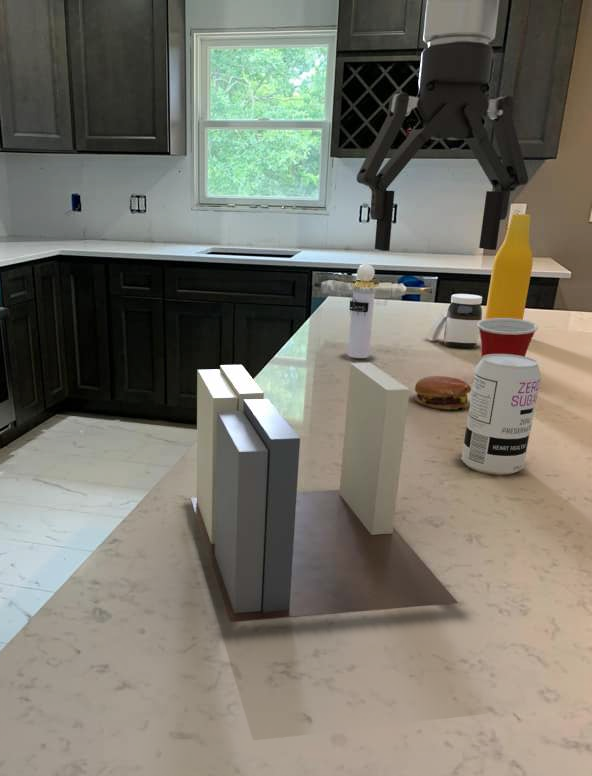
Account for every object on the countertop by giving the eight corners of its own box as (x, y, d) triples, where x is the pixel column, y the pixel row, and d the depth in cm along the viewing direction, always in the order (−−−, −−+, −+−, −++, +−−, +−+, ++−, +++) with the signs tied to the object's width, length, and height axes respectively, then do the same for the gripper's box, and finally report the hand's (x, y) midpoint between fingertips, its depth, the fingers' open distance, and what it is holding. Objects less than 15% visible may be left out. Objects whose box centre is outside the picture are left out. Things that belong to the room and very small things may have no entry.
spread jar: (479, 351, 168) (487, 300, 163) (429, 348, 170) (435, 297, 165) (472, 341, 179) (479, 292, 174) (425, 338, 180) (431, 290, 176)
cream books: (237, 498, 86) (241, 364, 80) (257, 541, 76) (264, 392, 70) (196, 500, 85) (197, 365, 79) (211, 544, 75) (213, 394, 69)
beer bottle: (474, 334, 187) (493, 213, 176) (493, 329, 193) (512, 213, 181) (508, 340, 181) (529, 215, 169) (526, 335, 186) (548, 215, 175)
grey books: (262, 550, 74) (268, 398, 68) (289, 610, 64) (300, 438, 58) (214, 554, 73) (216, 400, 67) (234, 614, 63) (239, 440, 57)
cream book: (357, 492, 88) (370, 362, 82) (392, 533, 78) (410, 389, 72) (338, 493, 88) (350, 362, 81) (371, 535, 78) (387, 389, 72)
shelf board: (359, 499, 90) (360, 488, 89) (455, 616, 66) (458, 602, 66) (189, 509, 86) (189, 497, 86) (228, 636, 63) (229, 622, 62)
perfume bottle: (351, 354, 162) (359, 261, 155) (375, 358, 160) (385, 263, 152) (340, 359, 158) (347, 263, 150) (364, 363, 155) (373, 266, 147)
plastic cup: (457, 384, 141) (466, 321, 137) (484, 374, 148) (494, 315, 144) (510, 396, 134) (522, 330, 130) (536, 386, 141) (548, 323, 137)
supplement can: (468, 452, 106) (485, 350, 101) (528, 463, 103) (548, 358, 97) (453, 469, 100) (470, 361, 94) (516, 482, 96) (537, 370, 90)
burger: (417, 394, 134) (420, 369, 132) (469, 400, 131) (473, 375, 129) (410, 409, 125) (413, 382, 124) (466, 416, 123) (470, 389, 121)
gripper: (541, 55, 85) (513, 246, 93) (337, 46, 80) (326, 247, 89) (581, 44, 78) (547, 251, 86) (361, 33, 74) (346, 253, 82)
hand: (435, 249), depth 87 cm, fingers open, 13 cm apart
